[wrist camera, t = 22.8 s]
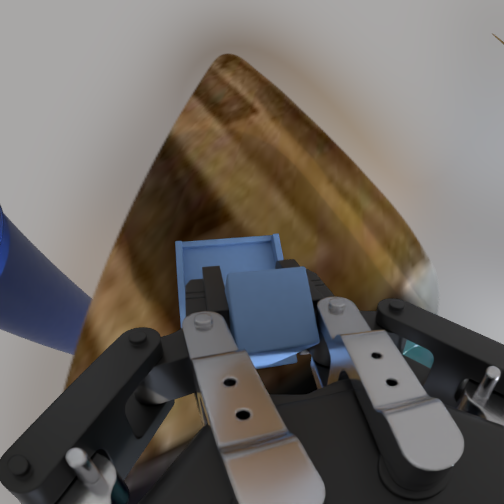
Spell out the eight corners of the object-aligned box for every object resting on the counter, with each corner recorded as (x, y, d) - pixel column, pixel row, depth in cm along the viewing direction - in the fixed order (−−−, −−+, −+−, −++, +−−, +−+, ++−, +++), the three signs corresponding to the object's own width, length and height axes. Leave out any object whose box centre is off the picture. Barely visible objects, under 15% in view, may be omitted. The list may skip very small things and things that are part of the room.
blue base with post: (295, 363, 19) (382, 330, 9) (187, 376, 18) (159, 362, 8) (273, 240, 22) (321, 124, 12) (177, 248, 21) (156, 128, 11)
